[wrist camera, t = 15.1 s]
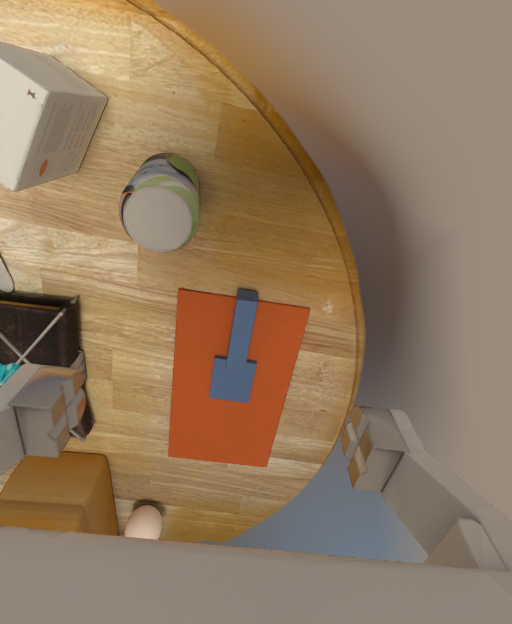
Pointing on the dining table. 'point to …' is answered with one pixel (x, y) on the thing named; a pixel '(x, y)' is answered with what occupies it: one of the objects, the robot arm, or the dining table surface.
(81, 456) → the bread
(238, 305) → the blue stepped bar
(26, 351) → the book
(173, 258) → the dining table surface
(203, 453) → the flat orange board
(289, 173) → the dining table surface
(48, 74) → the small box
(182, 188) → the beverage can
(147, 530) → the egg
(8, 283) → the spoon
